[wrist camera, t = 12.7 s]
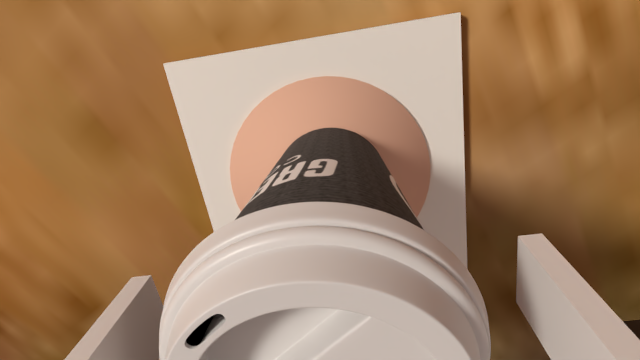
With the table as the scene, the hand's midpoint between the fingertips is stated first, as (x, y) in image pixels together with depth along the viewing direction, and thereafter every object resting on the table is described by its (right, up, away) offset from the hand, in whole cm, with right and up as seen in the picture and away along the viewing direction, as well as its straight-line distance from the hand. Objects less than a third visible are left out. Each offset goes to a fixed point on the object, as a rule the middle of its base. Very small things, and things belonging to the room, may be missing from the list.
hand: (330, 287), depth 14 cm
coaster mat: (0, +4, +10) cm, 11 cm away
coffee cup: (0, +4, +10) cm, 10 cm away
